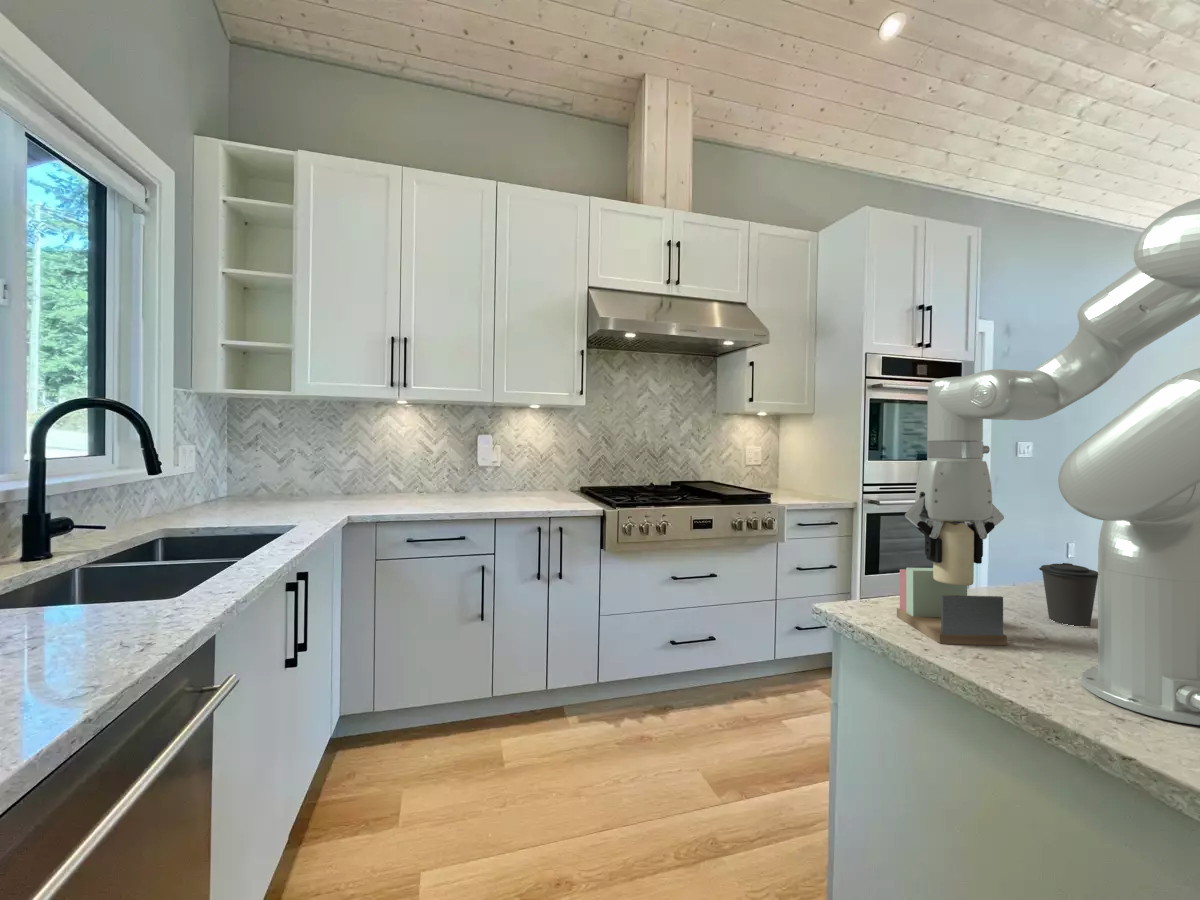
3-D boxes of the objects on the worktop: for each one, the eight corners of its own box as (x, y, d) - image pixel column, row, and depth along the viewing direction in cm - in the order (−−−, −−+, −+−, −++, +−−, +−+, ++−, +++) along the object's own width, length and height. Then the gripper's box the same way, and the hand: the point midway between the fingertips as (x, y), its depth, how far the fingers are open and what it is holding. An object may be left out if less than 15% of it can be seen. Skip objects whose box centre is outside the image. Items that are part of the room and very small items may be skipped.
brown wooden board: (1006, 645, 79) (1006, 635, 79) (939, 643, 79) (939, 634, 79) (953, 617, 92) (953, 609, 92) (896, 616, 92) (896, 608, 92)
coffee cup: (1075, 615, 93) (1074, 561, 93) (1115, 630, 85) (1115, 571, 85) (1027, 613, 94) (1027, 560, 94) (1063, 629, 86) (1062, 570, 86)
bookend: (1003, 635, 79) (1003, 597, 79) (943, 634, 79) (943, 596, 79) (1000, 634, 79) (1000, 596, 79) (941, 633, 80) (941, 595, 80)
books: (967, 617, 87) (967, 571, 87) (913, 616, 88) (913, 570, 88) (951, 609, 92) (951, 565, 92) (899, 608, 92) (899, 564, 92)
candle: (981, 584, 82) (982, 522, 82) (959, 587, 80) (959, 524, 80) (947, 575, 87) (947, 518, 87) (925, 579, 85) (925, 519, 85)
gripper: (992, 452, 87) (991, 557, 87) (889, 452, 88) (888, 555, 88) (1026, 452, 79) (1025, 567, 79) (912, 452, 80) (912, 566, 80)
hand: (953, 560), depth 84 cm, fingers closed on candle, 5 cm apart
